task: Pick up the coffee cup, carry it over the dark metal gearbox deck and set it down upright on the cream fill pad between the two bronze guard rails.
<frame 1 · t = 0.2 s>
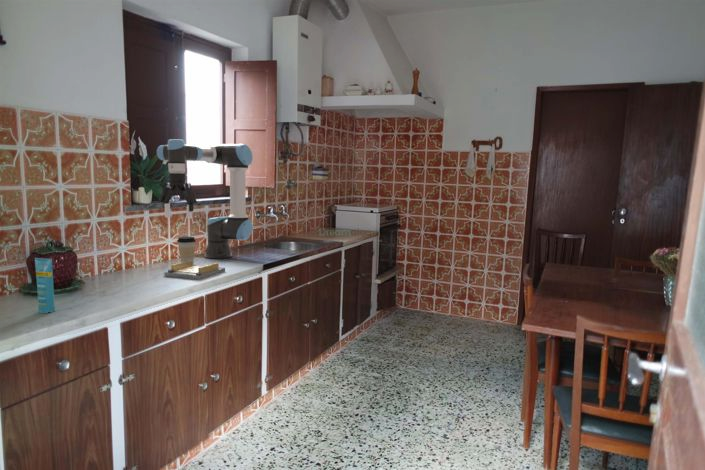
hand: (178, 217, 231), 27 cm above the worktop, fingers open, 13 cm apart
coffee cup: (187, 266, 255), on the worktop
tube: (46, 312, 171), on the worktop
gearbox deck: (195, 274, 236), on the worktop
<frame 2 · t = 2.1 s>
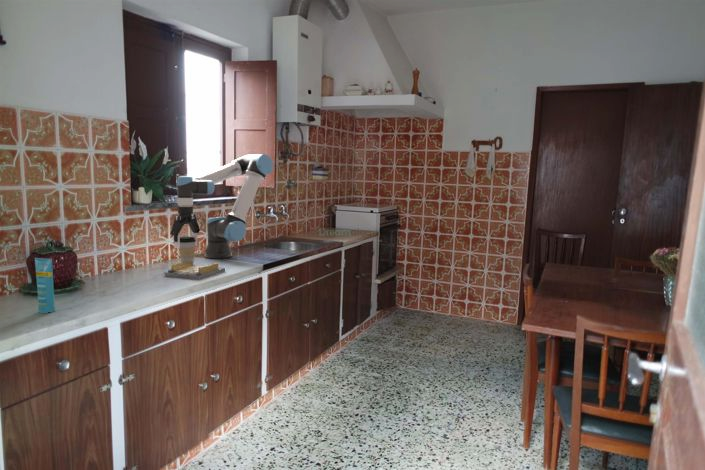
hand: (185, 246, 254), 10 cm above the worktop, fingers open, 13 cm apart
nothing on the worktop moved.
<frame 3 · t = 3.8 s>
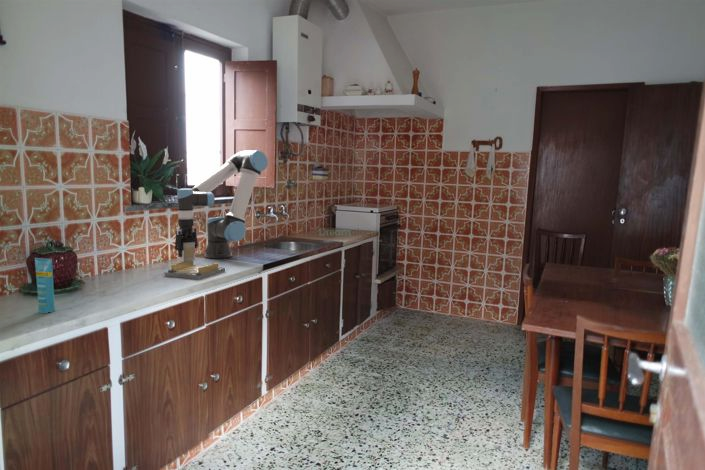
hand: (187, 261, 255), 2 cm above the worktop, fingers closed on coffee cup, 8 cm apart
coffee cup: (187, 266, 255), on the worktop, touching gripper
everything else where it was.
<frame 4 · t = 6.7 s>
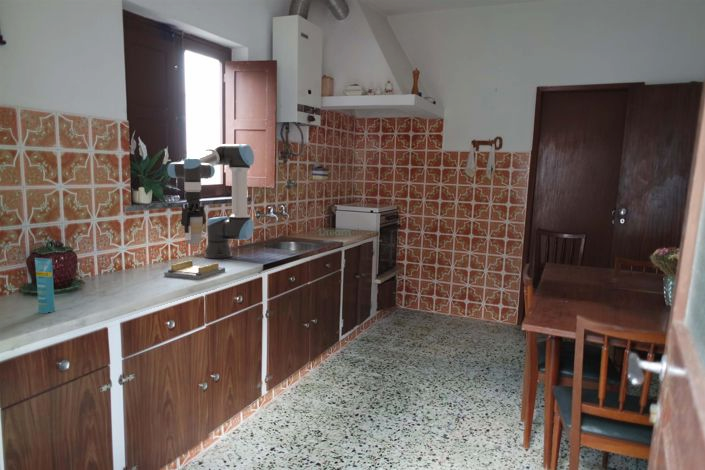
hand: (194, 238, 233), 17 cm above the worktop, fingers closed on coffee cup, 8 cm apart
coffee cup: (194, 243, 234), point 15 cm above the worktop, touching gripper
everything else where it was.
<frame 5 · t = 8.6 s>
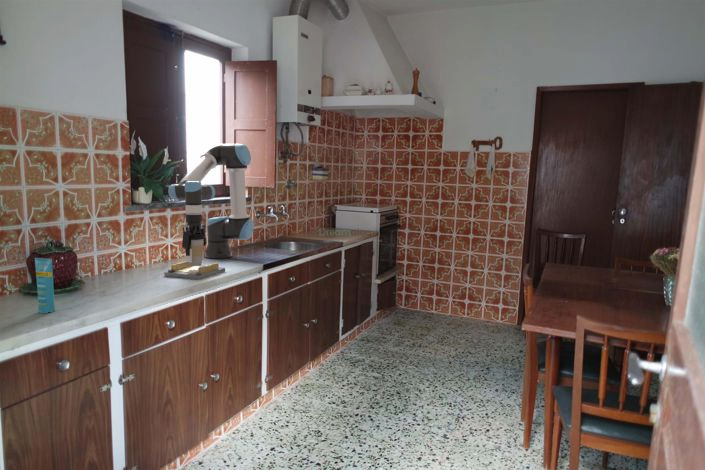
hand: (195, 260, 235), 7 cm above the worktop, fingers closed on coffee cup, 8 cm apart
coffee cup: (195, 265, 235), point 4 cm above the worktop, touching gripper
everything else where it was.
when the fingers open (6 cm above the worktop, at t = 9.7 s): coffee cup drops 1 cm, resting on gearbox deck.
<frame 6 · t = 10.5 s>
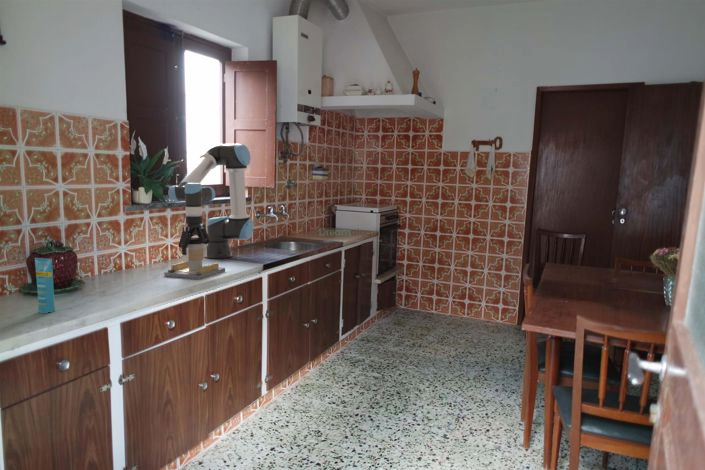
hand: (195, 259, 235), 7 cm above the worktop, fingers open, 13 cm apart
coffee cup: (195, 269, 235), point 2 cm above the worktop, touching gearbox deck
everything else where it was.
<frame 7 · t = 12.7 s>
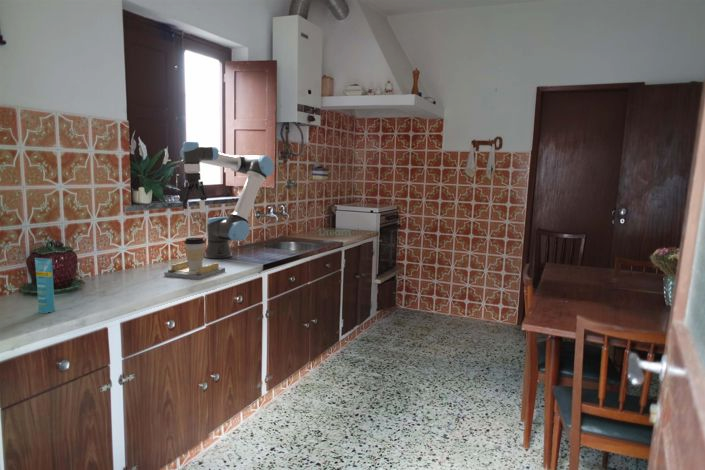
hand: (194, 213, 251), 27 cm above the worktop, fingers open, 13 cm apart
nothing on the worktop moved.
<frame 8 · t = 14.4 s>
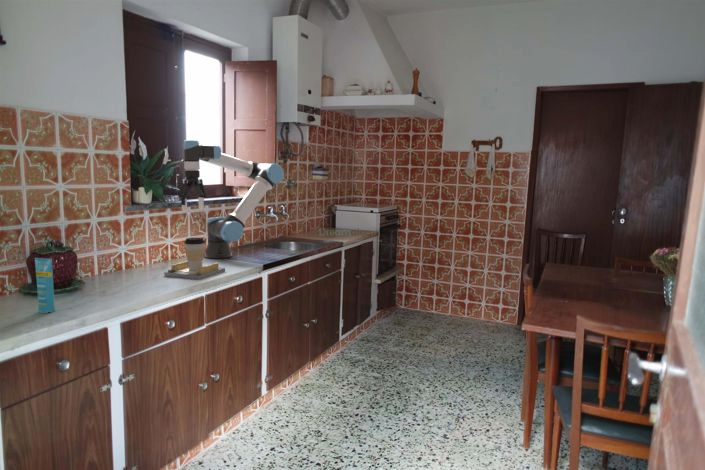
hand: (193, 210, 257), 29 cm above the worktop, fingers open, 13 cm apart
nothing on the worktop moved.
at the end: coffee cup inside the target area on the gearbox deck (0.1 cm from its centre), point 2.1 cm above the gearbox deck's base; coffee cup tilted 0°; the gripper is holding nothing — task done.
